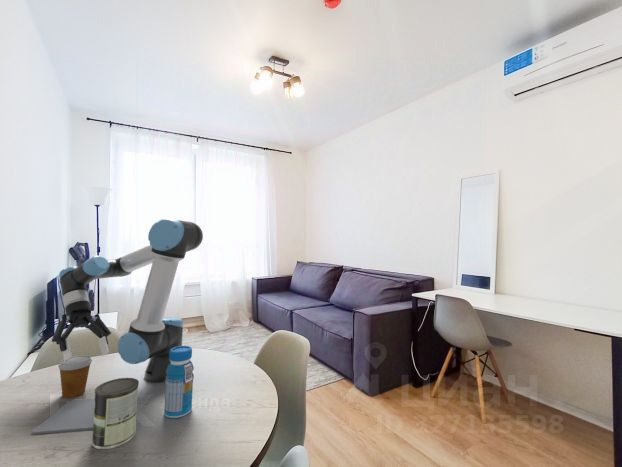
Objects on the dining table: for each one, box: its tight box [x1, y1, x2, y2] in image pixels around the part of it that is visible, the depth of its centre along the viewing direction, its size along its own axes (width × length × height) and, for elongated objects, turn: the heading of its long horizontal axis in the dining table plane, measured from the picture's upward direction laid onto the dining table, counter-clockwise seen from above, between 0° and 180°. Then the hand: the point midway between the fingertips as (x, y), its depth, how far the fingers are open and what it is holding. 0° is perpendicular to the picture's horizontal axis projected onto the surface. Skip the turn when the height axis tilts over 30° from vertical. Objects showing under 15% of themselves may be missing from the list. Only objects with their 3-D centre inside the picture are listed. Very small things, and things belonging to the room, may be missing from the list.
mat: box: [31, 397, 95, 436], centre depth 94 cm, size 18×18×1 cm
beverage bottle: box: [163, 345, 195, 419], centre depth 97 cm, size 8×8×20 cm
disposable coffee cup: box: [58, 354, 93, 399], centre depth 106 cm, size 10×10×12 cm
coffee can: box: [91, 377, 140, 450], centre depth 83 cm, size 10×10×14 cm
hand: (88, 356), depth 109 cm, fingers open, 13 cm apart
